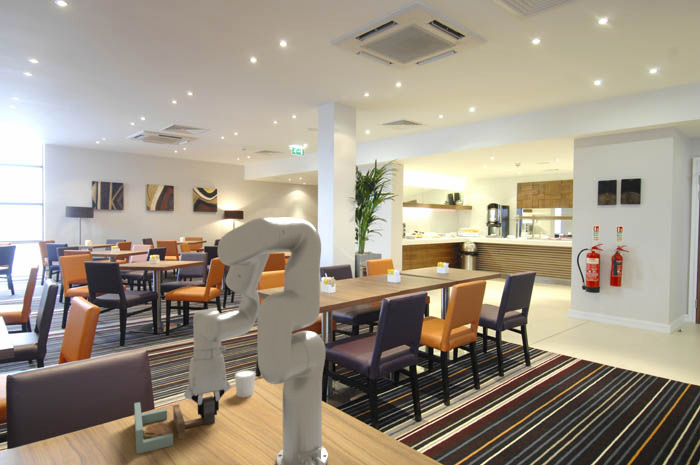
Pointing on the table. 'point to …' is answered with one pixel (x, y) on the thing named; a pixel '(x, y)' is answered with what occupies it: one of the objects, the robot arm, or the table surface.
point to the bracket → (139, 420)
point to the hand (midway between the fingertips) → (208, 414)
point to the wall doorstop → (208, 418)
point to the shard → (158, 429)
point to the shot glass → (245, 383)
